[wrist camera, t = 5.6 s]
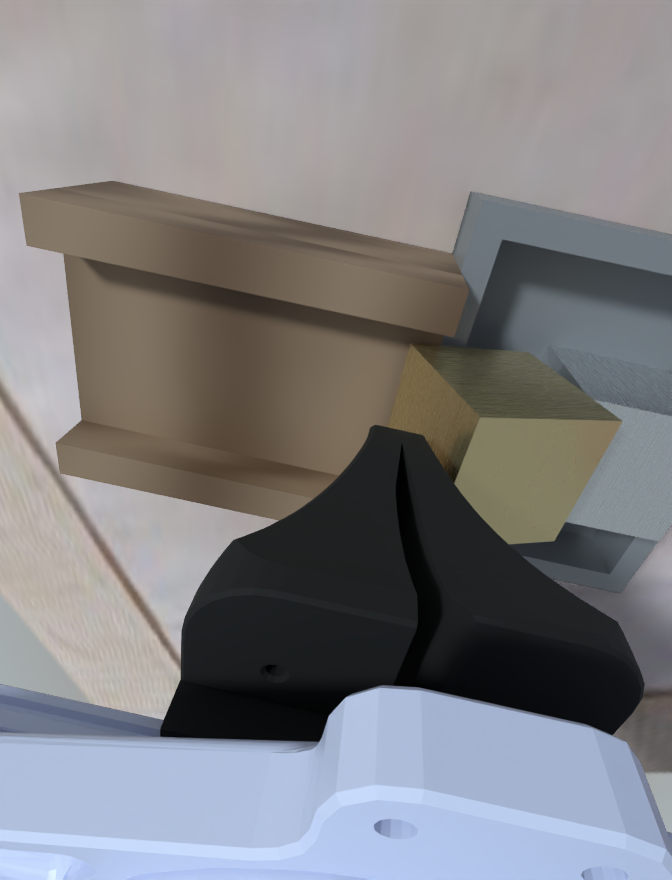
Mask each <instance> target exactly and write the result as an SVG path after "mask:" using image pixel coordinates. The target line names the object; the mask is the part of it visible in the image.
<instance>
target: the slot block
mask: <svg viewBox="0 0 672 880" xmlns="http://www.w3.org/2000/svg"><path fill="white" fill-rule="evenodd" d="M19 197H20V204H21V210H22V217H23V224H24V231H25V238H26V244H27V246H31V247H36V248H41V249H45V250H50V251H54V252H59V253H64V263H65V272H66V281H67V290H68V299H69V308H70V317H71V326H72V335H73V345H74V354H75V363H76V372H77V381H78V390H79V399H80V408H81V417H82V420H81V421H80V422H79V423H78V424H77V425H76V426H75V427H73V428H72V429H71V430H70V431H69V432H68V433H67V434H65V435H64V436H63V437H62V438H61V439H60V440H59V441H57V442H56V449H57V456H58V462H59V469H60V473H61V474H66V475H71V476H75V477H80V478H85V479H89V480H94V481H98V482H103V483H108V484H112V485H117V486H122V487H126V488H131V489H136V490H140V491H145V492H150V493H154V494H159V495H164V496H168V497H173V498H178V499H182V500H187V501H192V502H196V503H201V504H205V505H210V506H215V507H219V508H224V509H229V510H233V511H238V512H243V513H247V514H252V515H257V516H261V517H266V518H271V519H275V520H281V519H283V518H285V517H287V516H288V515H290V514H292V513H294V512H295V511H297V510H298V509H300V508H301V507H303V506H304V505H306V504H307V503H308V502H310V501H311V500H312V499H314V498H315V497H316V496H318V495H319V494H320V493H321V492H322V491H324V490H325V489H326V488H327V487H328V486H329V485H330V484H331V483H332V482H333V481H334V480H335V479H336V478H337V477H338V476H339V475H340V474H341V473H342V472H343V471H344V470H345V469H346V467H347V466H348V465H349V464H350V463H351V462H352V460H353V459H354V458H355V456H356V455H357V453H358V452H359V451H360V449H361V448H362V446H363V444H364V443H365V441H366V439H367V437H368V433H369V429H370V427H372V426H374V425H380V426H384V427H387V426H388V423H389V419H390V416H391V412H392V408H393V405H394V401H395V397H396V394H397V390H398V387H399V383H400V379H401V376H402V372H403V369H404V365H405V361H406V358H407V354H408V350H409V347H410V343H415V344H428V345H441V343H442V340H443V337H444V335H446V336H450V337H454V336H455V333H456V330H457V327H458V324H459V321H460V318H461V314H462V311H463V308H464V305H465V302H466V299H467V296H468V293H469V288H468V286H467V284H466V282H465V280H464V277H463V275H462V273H461V271H460V269H459V267H458V265H457V263H456V261H455V258H454V256H453V254H451V253H446V252H442V251H437V250H432V249H428V248H423V247H418V246H414V245H409V244H404V243H400V242H395V241H390V240H386V239H381V238H376V237H372V236H367V235H362V234H358V233H353V232H348V231H344V230H339V229H335V228H330V227H325V226H321V225H316V224H311V223H307V222H302V221H297V220H293V219H288V218H283V217H279V216H274V215H269V214H265V213H260V212H255V211H251V210H246V209H241V208H237V207H232V206H227V205H223V204H218V203H213V202H209V201H204V200H200V199H195V198H190V197H186V196H181V195H176V194H172V193H167V192H162V191H158V190H153V189H148V188H144V187H139V186H134V185H130V184H125V183H120V182H116V181H108V182H100V183H93V184H85V185H78V186H70V187H63V188H55V189H47V190H40V191H32V192H25V193H19Z"/></svg>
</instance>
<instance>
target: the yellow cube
mask: <svg viewBox="0 0 672 880" xmlns="http://www.w3.org/2000/svg"><path fill="white" fill-rule="evenodd" d="M622 422H623V421H622V420H621V419H619V418H618V417H617V416H615V415H614V414H613V413H611V412H610V411H608V410H607V409H606V408H604V407H603V406H602V405H600V404H599V403H598V402H596V401H595V400H593V399H592V398H591V397H589V396H588V395H587V394H585V393H584V392H583V391H581V390H580V389H578V388H577V387H576V386H574V385H573V384H572V383H570V382H569V381H568V380H566V379H565V378H563V377H562V376H561V375H559V374H558V373H557V372H555V371H554V370H553V369H551V368H550V367H548V366H547V365H546V364H544V363H543V362H542V361H540V360H539V359H538V358H536V357H535V356H533V355H532V354H531V353H529V352H520V351H507V350H494V349H481V348H468V347H454V346H441V345H428V344H415V343H410V347H409V350H408V354H407V358H406V361H405V365H404V369H403V372H402V376H401V379H400V383H399V387H398V390H397V394H396V397H395V401H394V405H393V408H392V412H391V416H390V419H389V423H388V426H387V427H389V428H393V429H398V430H402V431H407V432H412V433H416V434H421V435H423V436H424V437H425V439H426V440H427V442H428V444H429V445H430V447H431V449H432V450H433V452H434V454H435V455H436V457H437V458H438V460H439V462H440V463H441V465H442V466H443V468H444V469H445V471H446V472H447V474H448V475H449V477H450V478H451V480H452V481H453V483H454V484H455V485H456V487H457V488H458V489H459V491H460V492H461V493H462V495H463V496H464V497H465V498H466V500H467V501H468V502H469V503H470V505H471V506H472V507H473V508H474V509H475V511H476V512H477V513H478V514H479V515H480V516H481V517H482V518H483V519H484V520H485V522H486V523H487V524H488V525H489V526H490V527H491V528H492V529H493V530H494V531H495V532H496V533H497V534H498V535H499V536H500V537H501V538H502V539H503V540H504V541H505V542H507V543H508V544H521V543H535V542H549V541H555V539H556V537H557V535H558V534H559V532H560V530H561V528H562V527H563V525H564V523H565V521H566V520H567V518H568V516H569V514H570V513H571V511H572V509H573V507H574V506H575V504H576V502H577V500H578V499H579V497H580V495H581V493H582V492H583V490H584V488H585V486H586V485H587V483H588V481H589V479H590V478H591V476H592V474H593V472H594V471H595V469H596V467H597V465H598V464H599V462H600V460H601V458H602V457H603V455H604V453H605V451H606V450H607V448H608V446H609V444H610V443H611V441H612V439H613V437H614V436H615V434H616V432H617V430H618V429H619V427H620V425H621V423H622Z"/></svg>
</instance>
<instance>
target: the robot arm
mask: <svg viewBox="0 0 672 880" xmlns="http://www.w3.org/2000/svg"><path fill="white" fill-rule="evenodd" d="M644 685H645V684H644V681H643V678H642V675H641V672H640V669H639V667H638V664H637V662H636V660H635V658H634V655H633V653H632V651H631V648H630V646H629V644H628V642H627V640H626V638H625V636H624V633H623V631H622V629H621V628H620V626H619V624H618V622H616V621H615V620H613V619H612V618H610V617H608V616H607V615H605V614H604V613H602V612H600V611H599V610H597V609H596V608H594V607H592V606H591V605H589V604H588V603H586V602H584V601H583V600H581V599H579V598H578V597H576V596H575V595H573V594H572V593H570V592H569V591H567V590H566V589H564V588H563V587H562V586H560V585H559V584H557V583H556V582H555V581H553V580H552V579H551V578H549V577H548V576H546V575H545V574H544V573H542V572H541V571H540V570H539V569H537V568H536V567H535V566H533V565H532V564H531V563H530V562H528V561H527V560H526V559H525V558H524V557H523V556H521V555H520V554H519V553H518V552H517V551H516V550H514V549H513V548H512V547H511V546H510V545H509V544H508V543H507V542H505V541H504V540H503V539H502V538H501V537H500V536H499V535H498V534H497V533H496V532H495V531H494V530H493V529H492V528H491V527H490V526H489V525H488V524H487V523H486V522H485V520H484V519H483V518H482V517H481V516H480V515H479V514H478V513H477V512H476V511H475V509H474V508H473V507H472V506H471V505H470V503H469V502H468V501H467V500H466V498H465V497H464V496H463V495H462V493H461V492H460V491H459V489H458V488H457V487H456V485H455V484H454V483H453V481H452V480H451V478H450V477H449V475H448V474H447V472H446V471H445V469H444V468H443V466H442V465H441V463H440V462H439V460H438V458H437V457H436V455H435V454H434V452H433V450H432V449H431V447H430V445H429V444H428V442H427V440H426V439H425V437H424V436H423V435H421V434H416V433H412V432H407V431H402V430H398V429H393V428H389V427H384V426H380V425H374V426H372V427H370V429H369V433H368V437H367V439H366V441H365V443H364V444H363V446H362V448H361V449H360V451H359V452H358V453H357V455H356V456H355V458H354V459H353V460H352V462H351V463H350V464H349V465H348V466H347V467H346V469H345V470H344V471H343V472H342V473H341V474H340V475H339V476H338V477H337V478H336V479H335V480H334V481H333V482H332V483H331V484H330V485H329V486H328V487H327V488H326V489H325V490H324V491H322V492H321V493H320V494H319V495H318V496H316V497H315V498H314V499H312V500H311V501H310V502H308V503H307V504H306V505H304V506H303V507H301V508H300V509H298V510H297V511H295V512H294V513H292V514H290V515H288V516H287V517H285V518H283V519H281V520H279V521H278V522H276V523H274V524H272V525H270V526H268V527H266V528H264V529H262V530H259V531H256V532H254V533H251V534H249V535H246V536H244V537H241V538H238V539H235V540H233V541H232V542H231V544H230V545H229V546H228V547H227V548H226V550H225V551H224V552H223V553H222V554H221V556H220V557H219V558H218V560H217V561H216V562H215V564H214V565H213V566H212V568H211V569H210V571H209V572H208V574H207V575H206V577H205V578H204V580H203V582H202V583H201V585H200V587H199V588H198V590H197V592H196V594H195V596H194V599H193V601H192V603H191V605H190V607H189V609H188V612H187V614H186V616H185V619H184V623H183V627H182V639H181V680H180V682H179V685H178V687H177V689H176V692H175V694H174V697H173V699H172V702H171V704H170V706H169V709H168V711H167V714H166V716H165V718H164V720H161V719H156V718H152V717H147V716H143V715H138V714H134V713H129V712H125V711H120V710H116V709H111V708H107V707H102V706H98V705H93V704H89V703H84V702H79V701H75V700H70V699H66V698H62V697H57V696H53V695H47V694H44V693H39V692H35V691H30V690H25V689H21V688H16V687H11V686H7V685H3V684H0V880H672V833H670V832H667V831H666V828H665V826H664V823H663V820H662V818H661V815H660V812H659V810H658V807H657V805H656V802H655V799H654V797H653V794H652V791H651V789H650V786H649V784H648V781H647V779H646V776H645V773H644V770H643V768H642V765H641V763H640V761H639V760H638V758H637V757H636V755H635V754H634V752H633V751H632V749H631V748H630V747H629V745H628V744H627V742H625V741H623V740H621V739H619V738H617V737H615V736H613V734H614V733H615V732H616V730H617V729H618V728H619V727H620V726H621V725H622V724H623V723H624V722H625V721H626V720H627V719H628V717H629V716H630V715H631V714H632V713H633V712H634V710H635V709H636V707H637V706H638V704H639V703H640V701H641V699H642V697H643V691H644Z"/></svg>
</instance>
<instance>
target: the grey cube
mask: <svg viewBox="0 0 672 880" xmlns="http://www.w3.org/2000/svg"><path fill="white" fill-rule="evenodd" d="M542 362H543V363H544V364H546V365H547V366H548V367H550V368H551V369H553V370H554V371H555V372H557V373H558V374H559V375H561V376H562V377H563V378H565V379H566V380H568V381H569V382H570V383H572V384H573V385H574V386H576V387H577V388H578V389H580V390H581V391H583V392H584V393H585V394H587V395H588V396H589V397H591V398H592V399H593V400H595V401H596V402H598V403H599V404H600V405H602V406H603V407H604V408H606V409H607V410H608V411H610V412H611V413H613V414H614V415H615V416H617V417H618V418H619V419H621V420H622V421H623V422H622V423H621V425H620V427H619V429H618V430H617V432H616V434H615V436H614V437H613V439H612V441H611V443H610V444H609V446H608V448H607V450H606V451H605V453H604V455H603V457H602V458H601V460H600V462H599V464H598V465H597V467H596V469H595V471H594V472H593V474H592V476H591V478H590V479H589V481H588V483H587V485H586V486H585V488H584V490H583V492H582V493H581V495H580V497H579V499H578V500H577V502H576V504H575V506H574V507H573V509H572V511H571V513H570V514H569V516H568V518H567V520H566V521H565V522H569V523H573V524H578V525H583V526H587V527H592V528H597V529H601V530H606V531H611V532H616V533H620V534H625V535H630V536H634V537H639V538H644V539H649V540H653V541H658V542H659V541H660V540H661V538H662V537H663V535H664V534H665V533H666V531H667V530H668V529H669V527H670V526H671V524H672V373H670V372H669V371H668V370H665V369H660V368H655V367H650V366H646V365H641V364H636V363H632V362H627V361H622V360H618V359H613V358H608V357H604V356H599V355H594V354H590V353H585V352H580V351H576V350H571V349H566V348H561V347H557V346H552V345H549V346H548V349H547V351H546V353H545V356H544V358H543V360H542Z"/></svg>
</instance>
